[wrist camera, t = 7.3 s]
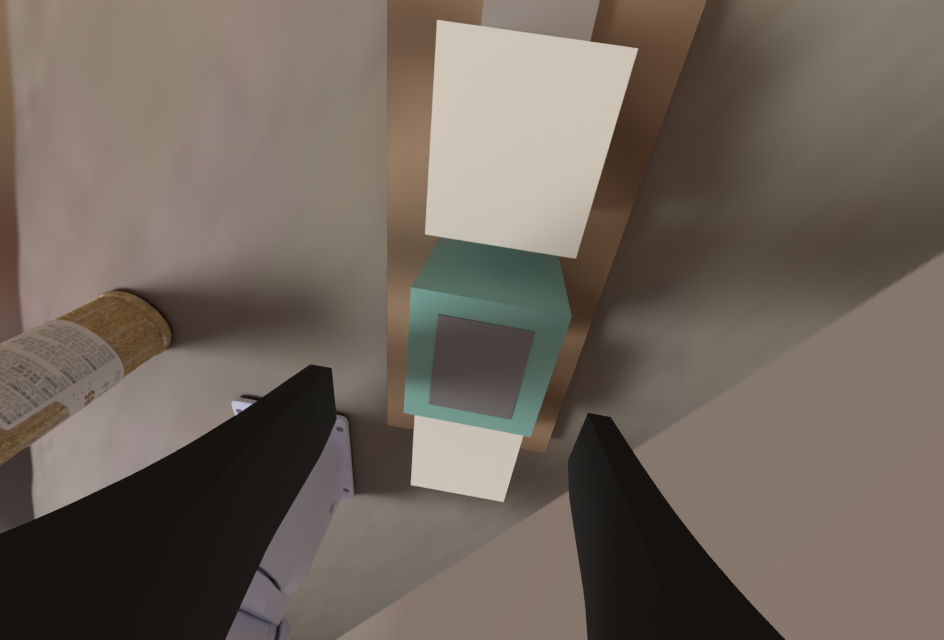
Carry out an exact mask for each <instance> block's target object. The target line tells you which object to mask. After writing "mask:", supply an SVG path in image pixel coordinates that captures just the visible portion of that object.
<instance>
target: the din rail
mask: <svg viewBox="0 0 944 640" xmlns="http://www.w3.org/2000/svg"><path fill="white" fill-rule="evenodd" d="M599 2H600V0H484V3H483V12H482V22H481V26H484V27H491V28H498V29H505V30H512V31H519V32H526V33H533V34H540V35H547V36H554V37H562V38H569V39H576V40H583V41H590V40H591V36H592V32H593V28H594V23H595V19H596V15H597V11H598V6H599Z"/></svg>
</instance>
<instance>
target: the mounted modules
mask: <svg viewBox="0 0 944 640" xmlns="http://www.w3.org/2000/svg"><path fill="white" fill-rule="evenodd" d="M637 51H638V48H632V47H625V46H618V45H611V44H604V43H597V42H590V41H583V40H576V39H569V38H562V37H554V36H547V35H540V34H533V33H526V32H519V31H512V30H505V29H498V28H491V27H484V26H477V25H470V24H463V23H456V22H449V21H442V20H437V29H436V47H435V65H434V82H433V100H432V118H431V135H430V153H429V171H428V188H427V206H426V224H425V235H432V236H438V237H444V238H450V239H457V240H463V241H469V242H475V243H481V244H488V245H494V246H500V247H506V248H512V249H519V250H525V251H531V252H537V253H543V254H550V255H556V256H562V257H568V258H574V259H576V257H577V253H578V250H579V246H580V243H581V240H582V236H583V233H584V230H585V226H586V223H587V219H588V216H589V213H590V209H591V206H592V203H593V199H594V196H595V193H596V189H597V186H598V182H599V179H600V176H601V172H602V169H603V166H604V162H605V159H606V155H607V152H608V149H609V145H610V142H611V139H612V135H613V132H614V129H615V125H616V122H617V118H618V115H619V112H620V108H621V105H622V102H623V98H624V95H625V91H626V88H627V85H628V81H629V78H630V75H631V71H632V68H633V64H634V61H635V58H636V54H637ZM522 438H523V435H517V434H512V433H507V432H501V431H496V430H491V429H486V428H480V427H475V426H470V425H465V424H459V423H454V422H449V421H444V420H438V419H433V418H428V417H423V416H417V415H415V418H414V436H413V454H412V471H411V485H413V486H419V487H424V488H430V489H435V490H441V491H446V492H452V493H457V494H462V495H468V496H473V497H479V498H484V499H490V500H495V501H501V502H504V499H505V496H506V492H507V489H508V486H509V482H510V479H511V476H512V472H513V469H514V465H515V462H516V459H517V455H518V452H519V449H520V445H521V442H522Z"/></svg>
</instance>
